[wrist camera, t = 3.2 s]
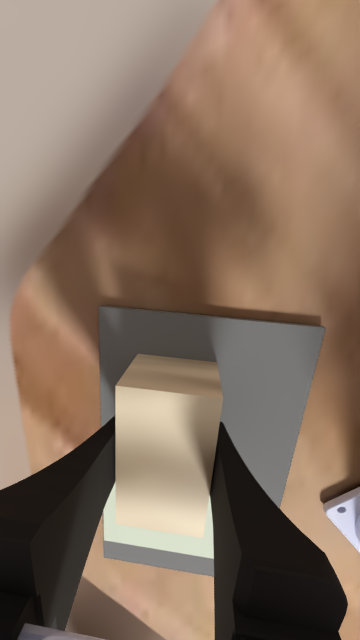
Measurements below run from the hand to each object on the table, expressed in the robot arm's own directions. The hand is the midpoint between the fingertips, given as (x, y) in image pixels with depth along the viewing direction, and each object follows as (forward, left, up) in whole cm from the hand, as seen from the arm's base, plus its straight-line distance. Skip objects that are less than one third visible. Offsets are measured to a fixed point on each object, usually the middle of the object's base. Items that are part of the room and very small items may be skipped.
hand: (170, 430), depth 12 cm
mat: (+1, +3, -1) cm, 4 cm away
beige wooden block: (0, 0, -1) cm, 1 cm away
